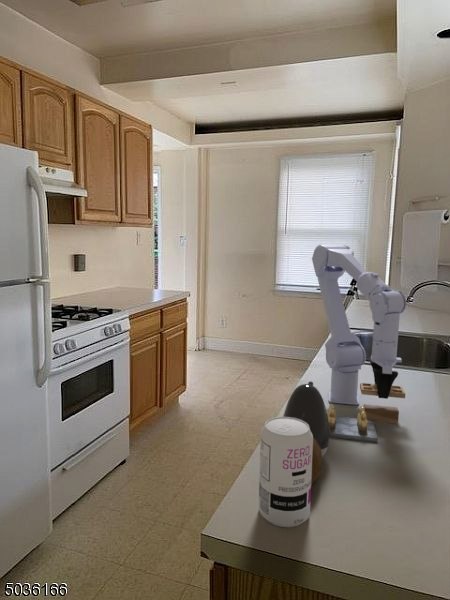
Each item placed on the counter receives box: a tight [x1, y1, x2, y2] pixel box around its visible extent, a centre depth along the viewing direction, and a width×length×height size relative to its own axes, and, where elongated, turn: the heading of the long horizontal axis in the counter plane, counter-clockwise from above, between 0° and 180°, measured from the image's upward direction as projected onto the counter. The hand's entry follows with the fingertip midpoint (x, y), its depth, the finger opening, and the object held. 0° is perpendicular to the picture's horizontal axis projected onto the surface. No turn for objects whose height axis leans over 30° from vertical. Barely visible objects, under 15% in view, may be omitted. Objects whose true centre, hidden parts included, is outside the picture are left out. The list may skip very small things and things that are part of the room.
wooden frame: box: [359, 382, 406, 399], centre depth 108 cm, size 6×10×1 cm, turn 77°
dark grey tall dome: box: [282, 380, 331, 457], centre depth 89 cm, size 10×10×15 cm
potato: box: [311, 438, 324, 485], centre depth 80 cm, size 8×12×9 cm
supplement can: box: [258, 416, 313, 528], centre depth 70 cm, size 8×8×15 cm
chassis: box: [326, 403, 379, 443], centre depth 102 cm, size 10×13×5 cm
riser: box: [363, 403, 400, 424], centre depth 108 cm, size 3×8×3 cm, turn 77°
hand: (381, 393), depth 108 cm, fingers closed on wooden frame, 6 cm apart
